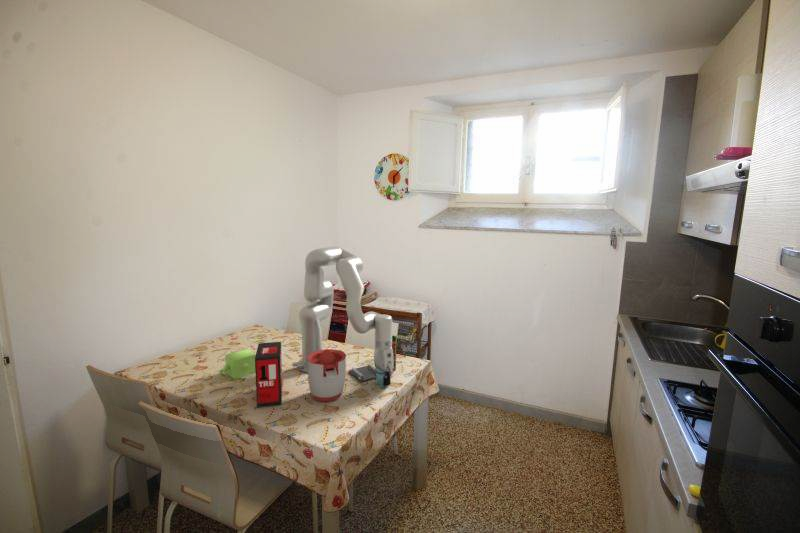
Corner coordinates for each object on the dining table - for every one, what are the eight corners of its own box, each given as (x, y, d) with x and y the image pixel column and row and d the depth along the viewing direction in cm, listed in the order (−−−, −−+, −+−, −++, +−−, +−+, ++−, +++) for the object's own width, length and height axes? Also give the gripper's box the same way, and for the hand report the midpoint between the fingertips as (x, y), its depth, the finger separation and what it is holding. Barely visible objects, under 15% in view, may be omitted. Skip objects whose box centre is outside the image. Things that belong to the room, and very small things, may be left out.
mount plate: (361, 383, 160) (361, 377, 160) (348, 372, 171) (348, 367, 171) (382, 377, 166) (382, 372, 166) (369, 367, 177) (369, 362, 177)
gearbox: (224, 384, 158) (223, 364, 156) (216, 376, 164) (214, 357, 162) (264, 371, 171) (263, 352, 169) (254, 364, 177) (253, 346, 175)
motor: (393, 374, 169) (393, 333, 166) (374, 372, 171) (375, 332, 168) (397, 366, 179) (398, 327, 176) (380, 364, 181) (380, 325, 178)
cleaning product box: (260, 388, 154) (258, 343, 151) (282, 385, 157) (281, 341, 154) (257, 408, 139) (254, 358, 136) (281, 404, 141) (279, 356, 138)
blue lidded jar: (380, 388, 156) (380, 373, 155) (373, 382, 161) (373, 367, 160) (392, 384, 159) (392, 369, 158) (385, 379, 164) (385, 364, 163)
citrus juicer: (312, 410, 137) (311, 360, 134) (304, 390, 153) (303, 345, 150) (352, 402, 144) (351, 354, 141) (341, 383, 159) (340, 340, 156)
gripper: (401, 347, 152) (400, 388, 155) (381, 336, 167) (380, 372, 169) (385, 351, 148) (385, 392, 151) (366, 338, 163) (366, 376, 165)
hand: (383, 381), depth 160 cm, fingers closed on blue lidded jar, 6 cm apart
